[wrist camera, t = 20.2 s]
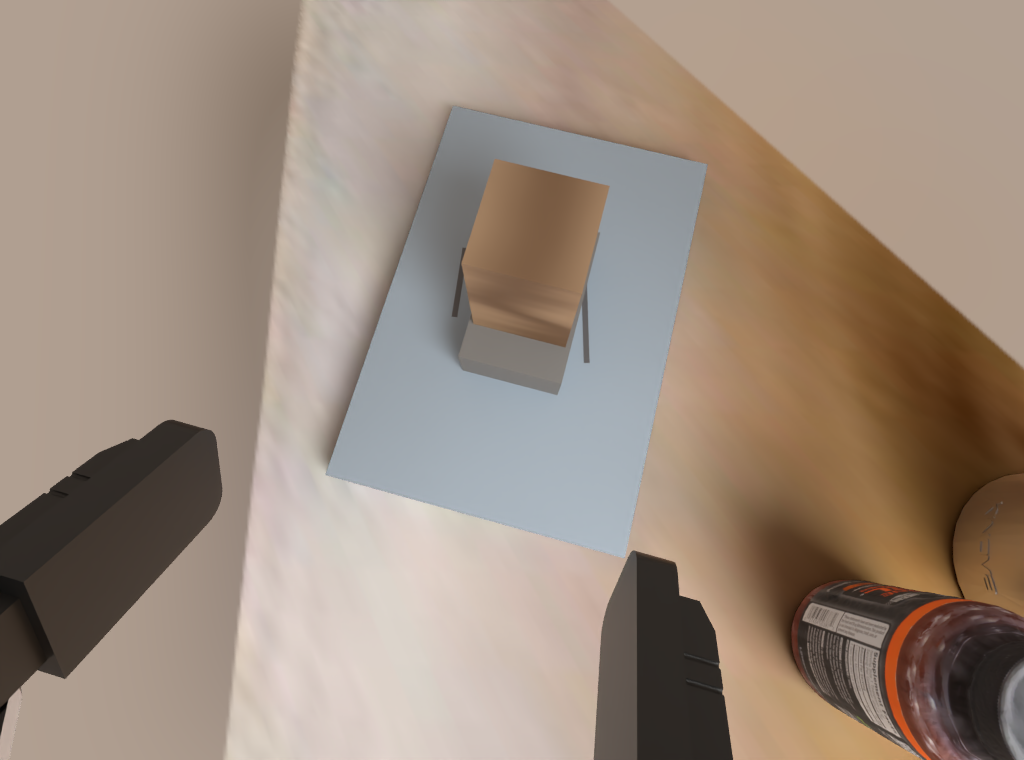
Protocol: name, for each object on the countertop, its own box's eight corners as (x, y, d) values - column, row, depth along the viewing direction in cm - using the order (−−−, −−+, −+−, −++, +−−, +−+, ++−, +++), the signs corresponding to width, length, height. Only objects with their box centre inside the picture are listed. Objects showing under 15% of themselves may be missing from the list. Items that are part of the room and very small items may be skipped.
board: (699, 179, 33) (707, 164, 31) (618, 556, 28) (624, 558, 26) (455, 123, 34) (453, 105, 32) (334, 476, 29) (325, 474, 27)
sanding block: (593, 255, 30) (626, 148, 21) (557, 395, 28) (577, 340, 19) (503, 233, 30) (500, 119, 22) (462, 370, 29) (440, 305, 20)
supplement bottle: (906, 584, 27) (1168, 629, 16) (913, 718, 26) (1205, 864, 15) (784, 569, 28) (963, 604, 17) (785, 702, 26) (981, 835, 15)
